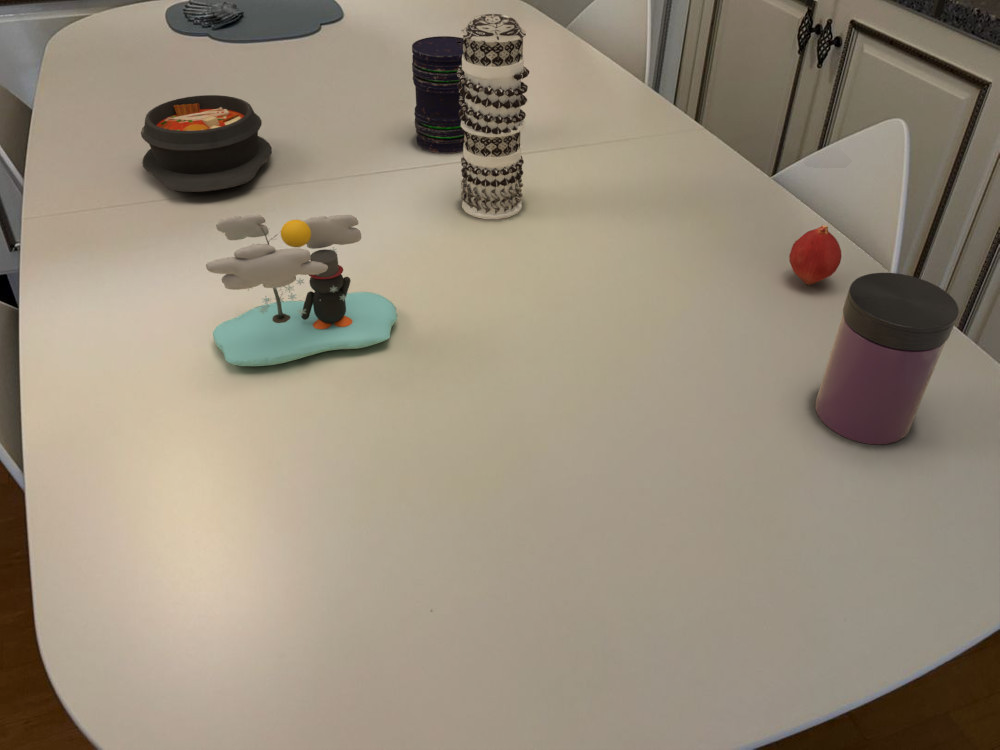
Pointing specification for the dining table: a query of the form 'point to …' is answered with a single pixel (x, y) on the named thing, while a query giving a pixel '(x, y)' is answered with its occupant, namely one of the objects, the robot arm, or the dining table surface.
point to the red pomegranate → (815, 255)
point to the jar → (872, 387)
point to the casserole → (204, 143)
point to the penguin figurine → (296, 322)
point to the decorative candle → (492, 115)
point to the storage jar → (438, 93)
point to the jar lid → (900, 311)
